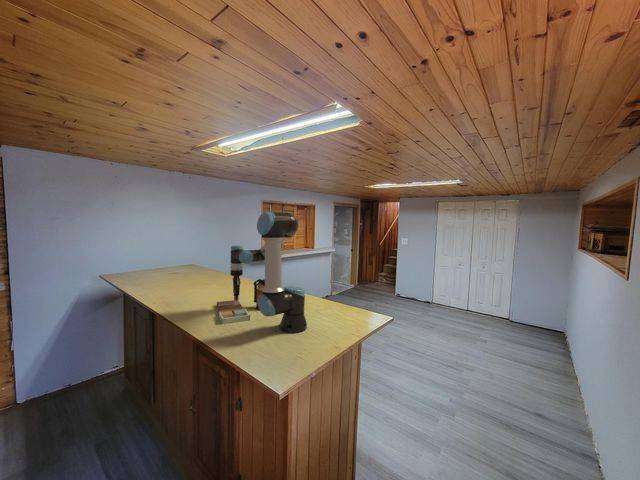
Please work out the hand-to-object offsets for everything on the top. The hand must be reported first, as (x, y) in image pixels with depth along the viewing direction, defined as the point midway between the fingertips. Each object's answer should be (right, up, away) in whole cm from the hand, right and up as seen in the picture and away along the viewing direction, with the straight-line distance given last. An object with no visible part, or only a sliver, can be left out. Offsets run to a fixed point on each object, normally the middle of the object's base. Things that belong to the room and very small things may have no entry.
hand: (236, 304), depth 175 cm
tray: (+3, -5, -13) cm, 14 cm away
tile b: (+5, -4, -9) cm, 12 cm away
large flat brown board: (-5, -4, +2) cm, 7 cm away
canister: (+15, -4, +7) cm, 17 cm away
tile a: (-2, -4, -13) cm, 13 cm away
